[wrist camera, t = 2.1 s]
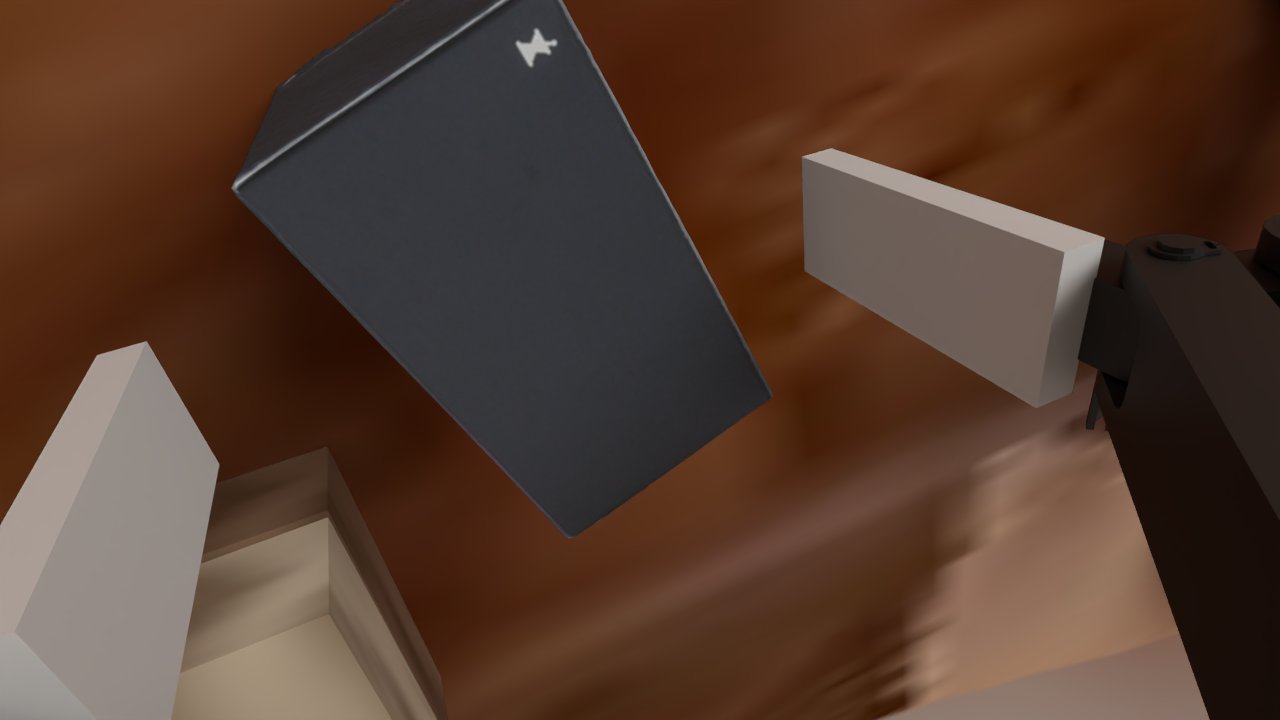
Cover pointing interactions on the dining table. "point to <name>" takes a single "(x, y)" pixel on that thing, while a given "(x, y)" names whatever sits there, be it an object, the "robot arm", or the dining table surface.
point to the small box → (506, 246)
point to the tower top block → (291, 639)
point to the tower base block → (300, 499)
